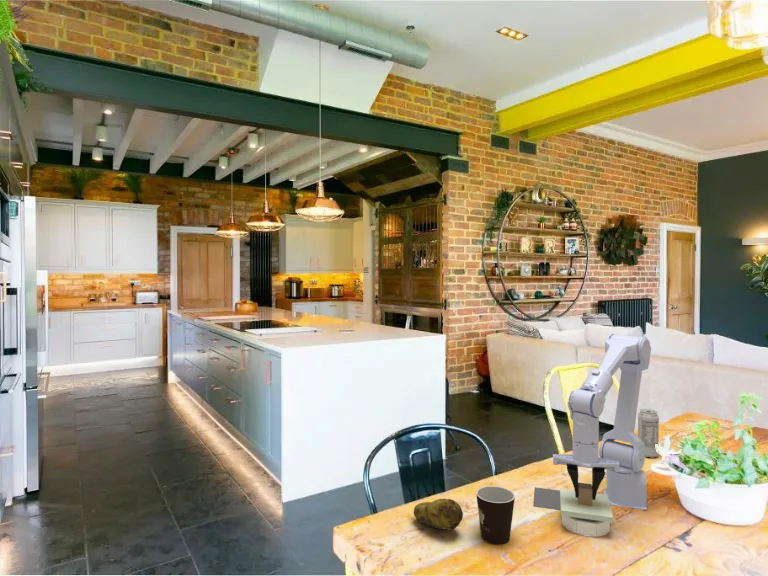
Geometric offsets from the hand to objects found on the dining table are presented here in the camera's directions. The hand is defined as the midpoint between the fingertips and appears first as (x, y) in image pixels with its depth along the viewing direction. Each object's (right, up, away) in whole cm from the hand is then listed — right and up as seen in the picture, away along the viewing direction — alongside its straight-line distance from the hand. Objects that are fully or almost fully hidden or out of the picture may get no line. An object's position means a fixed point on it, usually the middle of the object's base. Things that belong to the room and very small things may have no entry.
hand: (585, 497), depth 116 cm
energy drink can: (+40, -6, +46) cm, 61 cm away
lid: (0, -3, 0) cm, 3 cm away
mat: (-2, -7, +13) cm, 15 cm away
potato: (-35, -8, -1) cm, 36 cm away
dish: (0, -7, 0) cm, 7 cm away
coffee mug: (-22, -8, -3) cm, 24 cm away
